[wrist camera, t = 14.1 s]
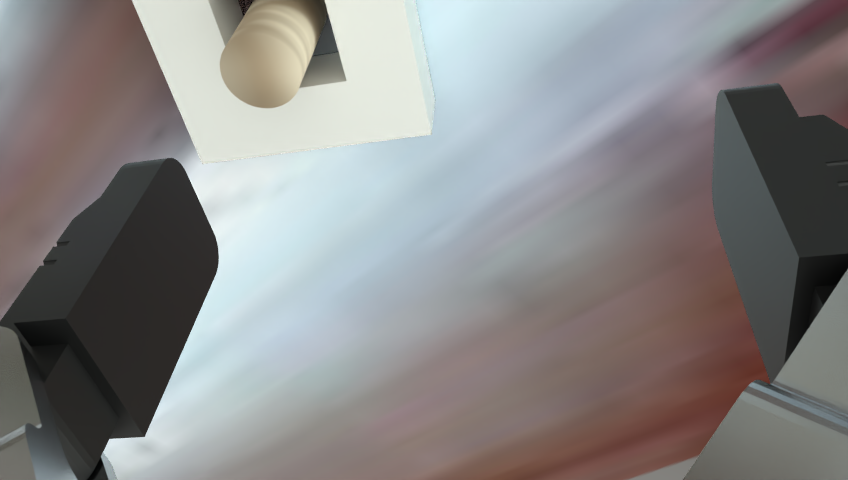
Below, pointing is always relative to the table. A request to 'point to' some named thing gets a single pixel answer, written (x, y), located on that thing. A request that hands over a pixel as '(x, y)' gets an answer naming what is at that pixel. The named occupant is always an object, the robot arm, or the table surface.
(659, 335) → the table surface
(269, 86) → the cream ribbed cylinder
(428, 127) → the socket
